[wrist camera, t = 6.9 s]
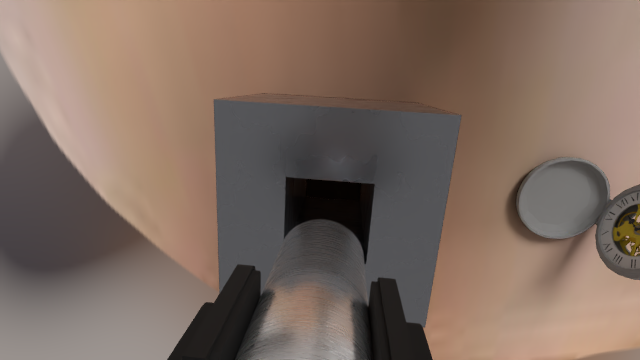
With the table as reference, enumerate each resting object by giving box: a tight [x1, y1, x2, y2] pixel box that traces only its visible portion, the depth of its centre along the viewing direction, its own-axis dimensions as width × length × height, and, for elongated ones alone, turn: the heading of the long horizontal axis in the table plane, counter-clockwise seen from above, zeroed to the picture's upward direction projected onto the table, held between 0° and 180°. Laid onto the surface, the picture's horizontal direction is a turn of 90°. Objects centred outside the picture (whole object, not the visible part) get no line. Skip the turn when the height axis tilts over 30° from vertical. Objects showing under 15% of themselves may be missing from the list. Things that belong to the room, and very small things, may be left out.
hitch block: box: [214, 93, 461, 327], centre depth 23 cm, size 12×12×10 cm
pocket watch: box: [516, 157, 640, 280], centre depth 22 cm, size 8×8×10 cm
